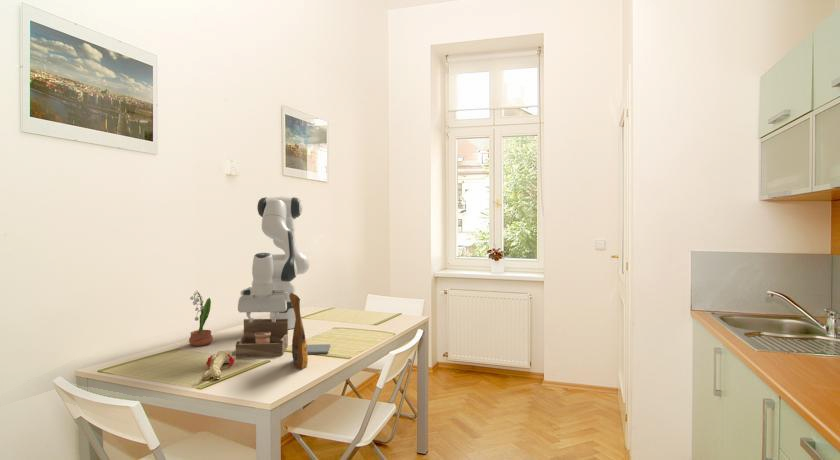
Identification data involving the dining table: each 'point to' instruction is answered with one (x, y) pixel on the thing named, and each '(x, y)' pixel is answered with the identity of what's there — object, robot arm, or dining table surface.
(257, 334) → the terracotta pot
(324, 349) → the rubber mat
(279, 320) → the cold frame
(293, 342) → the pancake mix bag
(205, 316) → the potted flower
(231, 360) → the cream toy figurine
